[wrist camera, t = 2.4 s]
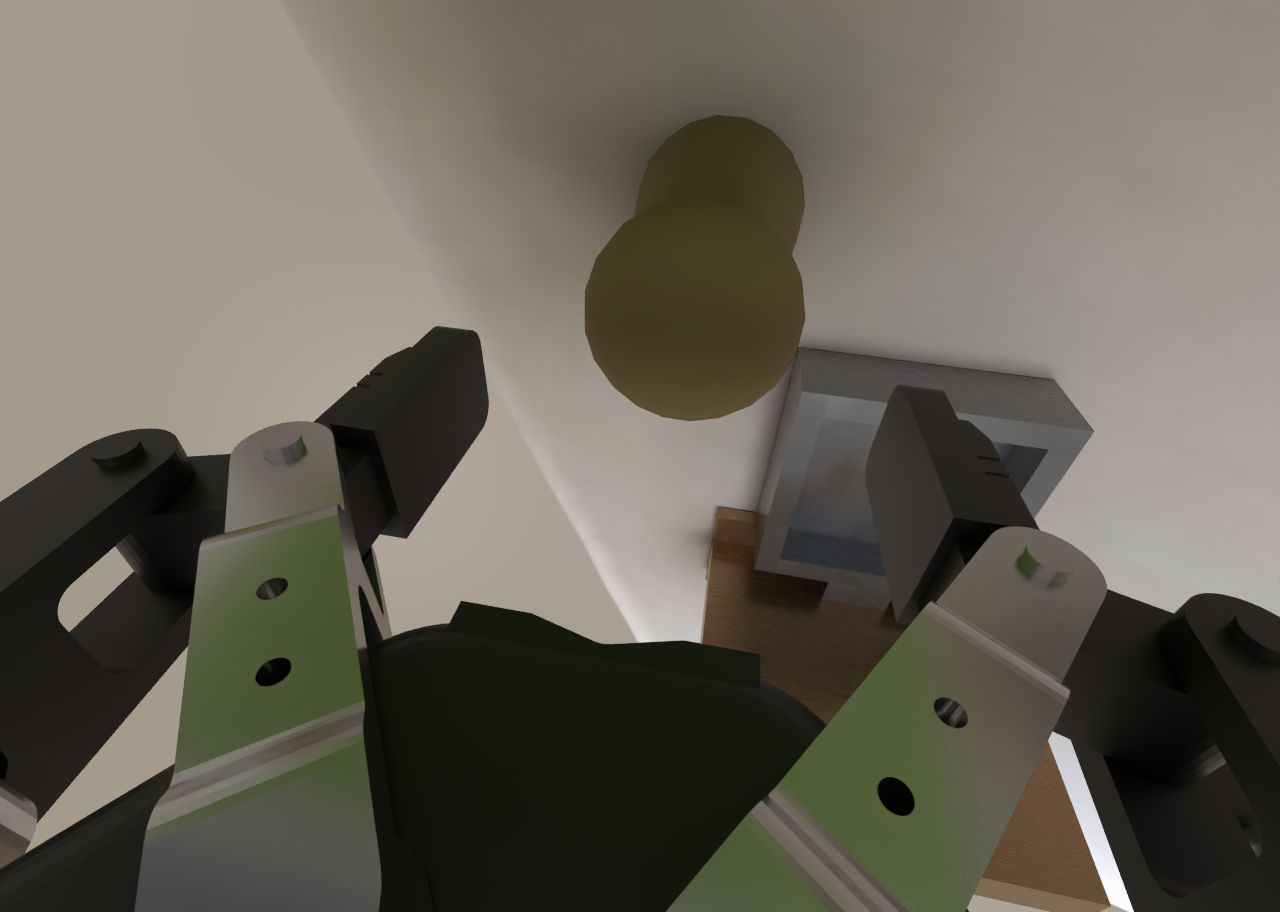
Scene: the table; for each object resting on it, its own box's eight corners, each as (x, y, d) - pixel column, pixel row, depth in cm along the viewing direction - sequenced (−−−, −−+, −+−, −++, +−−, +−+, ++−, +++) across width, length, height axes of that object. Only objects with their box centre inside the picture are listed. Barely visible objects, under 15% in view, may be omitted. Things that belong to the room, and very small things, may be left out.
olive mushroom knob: (624, 266, 23) (535, 420, 14) (659, 93, 19) (567, 159, 10) (768, 308, 23) (768, 487, 14) (833, 143, 19) (887, 251, 10)
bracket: (750, 341, 24) (733, 620, 13) (1109, 387, 22) (1436, 749, 11) (706, 569, 33) (675, 843, 22) (958, 612, 31) (1058, 931, 20)
